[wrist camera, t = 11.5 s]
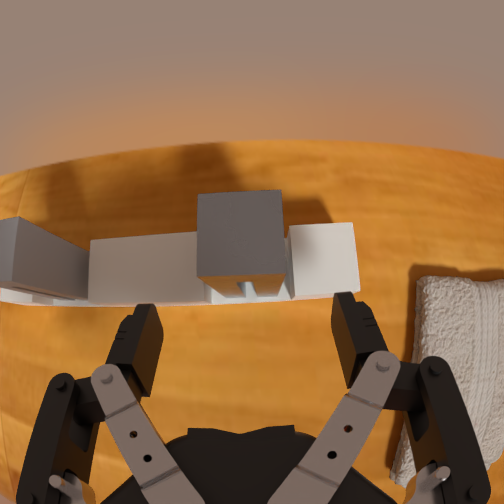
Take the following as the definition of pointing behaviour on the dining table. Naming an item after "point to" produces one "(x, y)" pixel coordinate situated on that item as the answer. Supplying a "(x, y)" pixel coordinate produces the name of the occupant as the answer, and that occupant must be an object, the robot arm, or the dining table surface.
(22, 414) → the dining table surface
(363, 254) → the dining table surface
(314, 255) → the rail
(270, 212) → the grey slotted block
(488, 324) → the washcloth
